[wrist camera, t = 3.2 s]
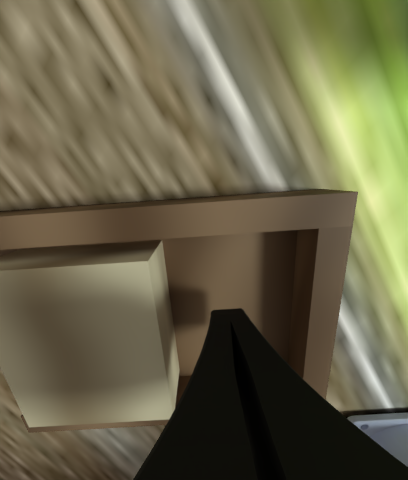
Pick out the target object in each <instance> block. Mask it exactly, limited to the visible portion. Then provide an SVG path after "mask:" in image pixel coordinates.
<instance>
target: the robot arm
mask: <svg viewBox="0 0 408 480" xmlns="http://www.w3.org/2000/svg"><path fill="white" fill-rule="evenodd" d="M133 480H408V412H407V413H389V414H372V415H354V416H349V417H348V418H346V417H345V416H343V415H342V414H341V413H340V412H339V411H338V410H336V409H335V408H334V407H333V406H332V405H331V404H330V403H329V402H327V401H326V400H325V399H324V398H323V397H322V396H321V395H320V394H318V393H317V392H316V391H315V390H314V389H313V388H312V387H311V386H310V385H309V384H308V383H307V382H306V381H305V380H304V379H303V378H302V377H301V376H299V374H298V373H297V372H296V371H295V370H294V369H293V368H292V367H291V366H290V365H289V364H288V363H287V362H286V361H285V360H284V359H283V358H282V357H281V356H280V355H279V354H278V352H277V351H276V350H275V349H274V348H273V347H272V346H271V345H270V343H269V342H268V341H267V340H266V339H265V338H264V336H263V335H262V334H261V333H260V331H259V330H258V329H257V328H256V326H255V325H254V324H253V322H252V321H251V320H250V318H249V317H248V316H247V314H246V313H245V311H244V310H243V309H242V308H237V309H220V310H213V311H212V312H211V317H210V323H209V327H208V331H207V335H206V338H205V341H204V344H203V347H202V350H201V353H200V355H199V358H198V360H197V363H196V365H195V368H194V370H193V373H192V375H191V377H190V379H189V382H188V384H187V386H186V388H185V390H184V392H183V394H182V396H181V398H180V400H179V402H178V404H177V406H176V408H175V410H174V412H173V413H172V415H171V417H170V419H169V421H168V423H167V425H166V426H165V428H164V430H163V432H162V433H161V435H160V437H159V439H158V440H157V442H156V444H155V445H154V447H153V449H152V450H151V452H150V454H149V455H148V457H147V458H146V460H145V462H144V463H143V465H142V466H141V468H140V470H139V471H138V473H137V474H136V476H135V478H134V479H133Z"/></svg>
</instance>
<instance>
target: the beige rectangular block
mask: <svg viewBox="0 0 408 480" xmlns="http://www.w3.org/2000/svg"><path fill="white" fill-rule="evenodd" d="M0 368H1V370H2V372H3V374H4V376H5V378H6V381H7V383H8V385H9V387H10V389H11V391H12V393H13V395H14V397H15V399H16V401H17V403H18V406H19V408H20V410H21V412H22V414H23V416H24V418H25V420H26V422H27V424H28V426H29V427H45V426H63V425H80V424H98V423H115V422H133V421H150V420H168V419H170V417H171V415H172V413H173V412H174V410H175V404H176V395H177V387H178V379H179V370H180V369H179V361H178V354H177V347H176V339H175V332H174V324H173V317H172V310H171V302H170V295H169V287H168V280H167V273H166V265H165V258H164V251H163V243H162V240H155V241H140V242H125V243H110V244H95V245H80V246H65V247H51V248H36V249H21V250H17V251H14V252H11V253H9V254H6V255H3V256H1V257H0Z"/></svg>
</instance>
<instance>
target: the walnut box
mask: <svg viewBox="0 0 408 480" xmlns="http://www.w3.org/2000/svg"><path fill="white" fill-rule="evenodd" d="M357 195H358V192H353V191H340V190H327V189H314V190H300V191H286V192H271V193H257V194H243V195H228V196H214V197H199V198H185V199H171V200H156V201H142V202H128V203H113V204H99V205H84V206H70V207H56V208H41V209H27V210H13V211H0V257H1V256H3V255H6V254H9V253H11V252H14V251H17V250H21V249H36V248H51V247H65V246H80V245H95V244H110V243H125V242H140V241H155V240H162V243H163V251H164V258H165V265H166V273H167V280H168V287H169V295H170V302H171V310H172V317H173V324H174V332H175V339H176V347H177V354H178V361H179V369H180V370H179V379H178V387H177V395H176V404H175V408H176V406H177V404H178V402H179V400H180V398H181V396H182V394H183V392H184V390H185V388H186V386H187V384H188V382H189V379H190V377H191V375H192V373H193V370H194V368H195V365H196V363H197V360H198V358H199V355H200V353H201V350H202V347H203V344H204V341H205V338H206V335H207V331H208V327H209V323H210V317H211V312H212V311H213V310H220V309H237V308H242V309H243V310H244V311H245V313H246V314H247V316H248V317H249V318H250V320H251V321H252V322H253V324H254V325H255V326H256V328H257V329H258V330H259V331H260V333H261V334H262V335H263V336H264V338H265V339H266V340H267V341H268V342H269V343H270V345H271V346H272V347H273V348H274V349H275V350H276V351H277V352H278V354H279V355H280V356H281V357H282V358H283V359H284V360H285V361H286V362H287V363H288V364H289V365H290V366H291V367H292V368H293V369H294V370H295V371H296V372H297V373H298V374H299V376H301V377H302V378H303V379H304V380H305V381H306V382H307V383H308V384H309V385H310V386H311V387H312V388H313V389H314V390H315V391H316V392H317V393H318V394H320V395H321V396H322V397H323V398H324V399H325V400H326V394H327V387H328V381H329V374H330V368H331V362H332V355H333V349H334V342H335V336H336V329H337V323H338V317H339V310H340V304H341V297H342V291H343V285H344V278H345V272H346V265H347V259H348V252H349V246H350V240H351V233H352V227H353V220H354V214H355V207H356V201H357ZM21 418H22V420H23V422H24V424H25V426H26V428H27V430H28V432H29V433H30V432H48V431H65V430H83V429H100V428H118V427H136V426H153V425H167V423H168V421H169V419H168V420H150V421H133V422H115V423H98V424H80V425H63V426H45V427H29V426H28V424H27V422H26V420H25V418H24V416H23V414H22V416H21Z"/></svg>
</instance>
